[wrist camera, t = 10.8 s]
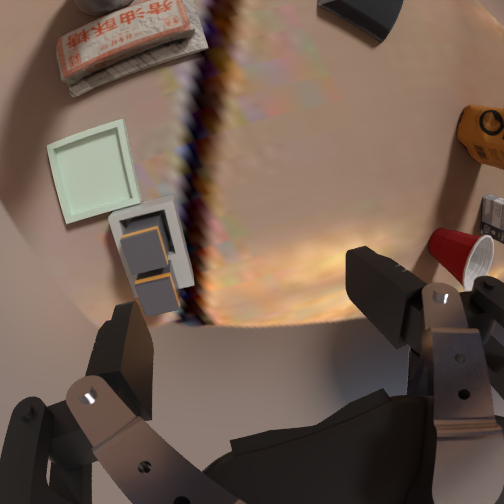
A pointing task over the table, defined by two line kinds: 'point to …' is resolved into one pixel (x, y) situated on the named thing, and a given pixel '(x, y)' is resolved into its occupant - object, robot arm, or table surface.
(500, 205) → the label tape box
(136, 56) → the packaged product
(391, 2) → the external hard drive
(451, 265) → the plastic cup
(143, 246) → the plug
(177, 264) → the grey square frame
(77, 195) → the tray
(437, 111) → the table surface
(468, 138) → the coffee package
